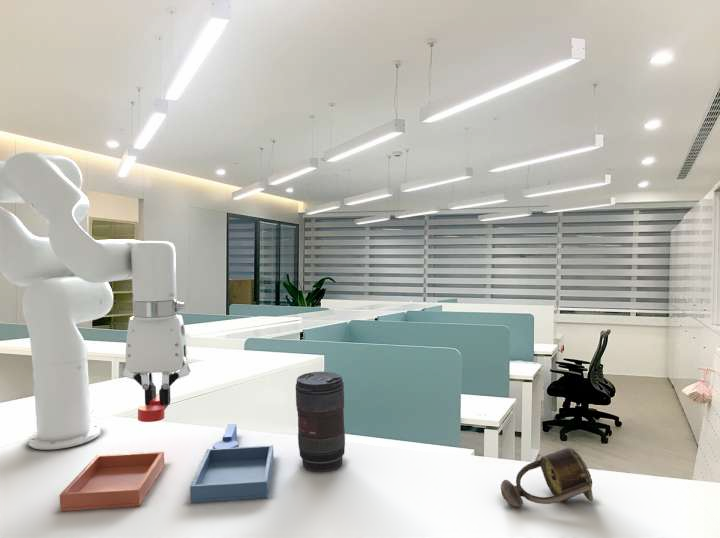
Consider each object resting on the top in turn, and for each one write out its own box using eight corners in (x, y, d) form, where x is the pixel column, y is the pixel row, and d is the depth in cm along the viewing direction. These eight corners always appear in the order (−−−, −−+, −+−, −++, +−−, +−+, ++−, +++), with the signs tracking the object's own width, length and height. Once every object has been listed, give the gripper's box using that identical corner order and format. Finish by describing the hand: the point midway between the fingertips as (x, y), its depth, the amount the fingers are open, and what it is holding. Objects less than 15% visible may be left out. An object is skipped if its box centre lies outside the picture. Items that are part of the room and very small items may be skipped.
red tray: (97, 469, 99) (96, 455, 99) (164, 465, 100) (164, 451, 100) (60, 511, 84) (59, 494, 84) (139, 506, 85) (138, 489, 85)
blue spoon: (237, 459, 102) (236, 444, 102) (211, 460, 102) (210, 446, 101) (244, 436, 113) (243, 423, 113) (221, 437, 113) (220, 424, 112)
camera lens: (289, 470, 97) (286, 381, 96) (311, 452, 104) (308, 369, 103) (334, 476, 94) (331, 385, 92) (353, 457, 101) (351, 372, 100)
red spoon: (160, 422, 101) (161, 407, 101) (134, 422, 100) (134, 407, 100) (175, 405, 112) (175, 392, 112) (152, 405, 111) (152, 392, 111)
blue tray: (208, 463, 101) (207, 449, 100) (273, 459, 101) (273, 445, 101) (190, 503, 86) (189, 486, 86) (267, 498, 87) (266, 481, 87)
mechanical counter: (604, 482, 77) (592, 439, 86) (505, 467, 79) (503, 427, 89) (596, 526, 79) (585, 480, 88) (500, 511, 82) (499, 467, 91)
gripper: (202, 305, 110) (205, 401, 111) (117, 306, 109) (120, 403, 110) (195, 312, 103) (197, 414, 104) (103, 313, 101) (107, 416, 103)
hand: (158, 408), depth 107 cm, fingers closed on red spoon, 1 cm apart
